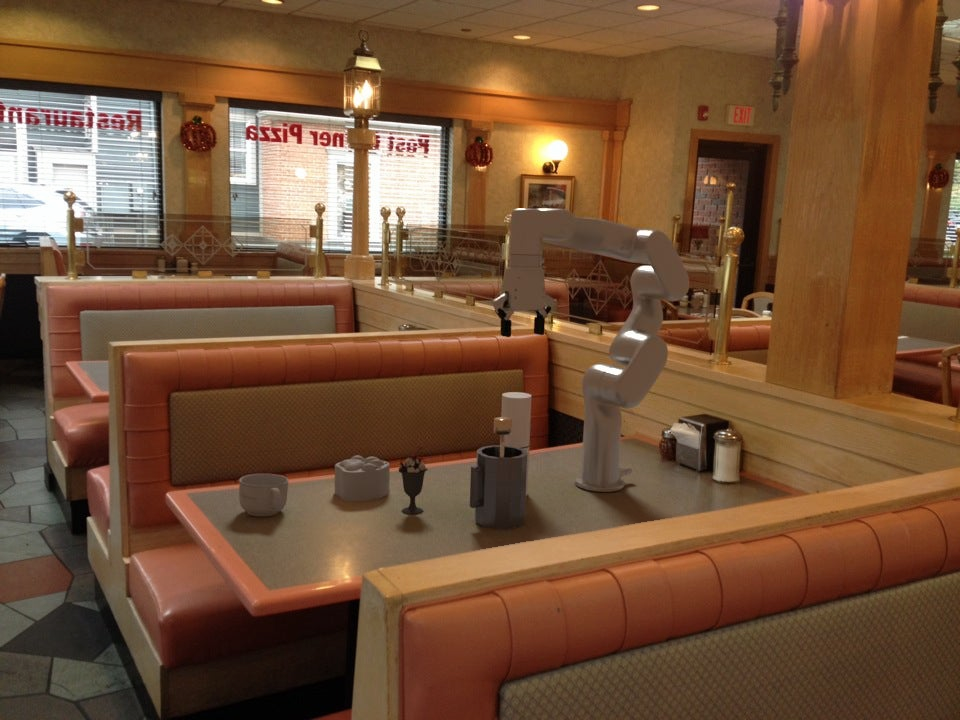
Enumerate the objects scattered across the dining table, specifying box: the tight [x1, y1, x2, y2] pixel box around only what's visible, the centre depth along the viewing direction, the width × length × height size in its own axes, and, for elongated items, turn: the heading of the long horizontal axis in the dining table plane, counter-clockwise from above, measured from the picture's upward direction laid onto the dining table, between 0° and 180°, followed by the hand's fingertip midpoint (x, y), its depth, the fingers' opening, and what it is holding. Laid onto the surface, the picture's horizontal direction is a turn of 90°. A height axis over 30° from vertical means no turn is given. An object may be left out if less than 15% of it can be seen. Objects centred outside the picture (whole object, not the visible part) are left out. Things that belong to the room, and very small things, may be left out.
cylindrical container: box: [500, 391, 532, 497], centre depth 214 cm, size 7×7×25 cm
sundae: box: [398, 446, 428, 515], centre depth 200 cm, size 7×7×15 cm
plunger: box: [493, 416, 512, 458], centre depth 195 cm, size 8×8×21 cm
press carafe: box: [469, 444, 527, 530], centre depth 195 cm, size 13×11×16 cm
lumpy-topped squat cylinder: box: [334, 454, 391, 503], centre depth 212 cm, size 10×13×9 cm
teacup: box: [238, 473, 290, 517], centre depth 195 cm, size 14×11×8 cm
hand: (522, 335), depth 205 cm, fingers open, 9 cm apart
